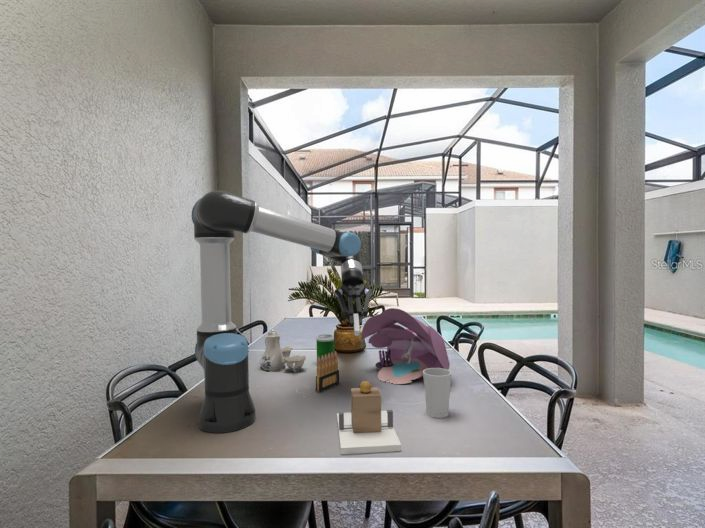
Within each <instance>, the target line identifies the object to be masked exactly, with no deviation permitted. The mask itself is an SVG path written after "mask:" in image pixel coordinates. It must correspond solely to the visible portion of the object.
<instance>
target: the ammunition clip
mask: <svg viewBox="0 0 705 528" xmlns="http://www.w3.org/2000/svg"><path fill="white" fill-rule="evenodd" d="M338 384H339V385H340V370H339V362H338V353H337V350H334V354H333V352H332V353H331V357H330V353H328V357H327V355H326V354H325V356H324V357H323V355H322V356H321V360H320V357H319V356H318V360H317V359H316V376H315V392H316V391H317V393H322V392H324V390H325V391H326V390H329V389H332V388H334V387H336V386H338ZM335 385H336V386H335ZM333 386H334V387H333ZM331 387H332V388H331Z"/></svg>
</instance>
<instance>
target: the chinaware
mask: <svg viewBox="0 0 705 528" xmlns="http://www.w3.org/2000/svg"><path fill="white" fill-rule="evenodd" d="M264 337H265V338H264V344H265V350H264V353H263V355H262V356H261V358H260V362H259V364H260V366H261V367H262V370H263V369H264V370H263V371H266V370H269V371H268V372H271V371H272V372H274V371H273V370H275V371H280V370H283V369H284V368H283V367H284V366H285V364H286V366H287V368H288V369H289V370H290V371H291V372H292V371H293V372H292V373H298V372H300V371H301V370H300V369H302V368H303V366H304V365H305V360H306V358H307V357H306V355H302V356H301V355H298V354H294V355H292V356H290V355H291V352H292V351H293V348H290V346H284V347H281V344H280V340H281V334H280V333H277V332H276V331H275V329H274V328H272V329H270V332H268V334H265V335H264ZM282 368H283V369H282ZM279 369H280V370H279ZM297 371H298V372H297Z"/></svg>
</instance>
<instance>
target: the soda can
mask: <svg viewBox="0 0 705 528" xmlns="http://www.w3.org/2000/svg"><path fill="white" fill-rule="evenodd" d="M332 352H333V354H334V353H335V338H334V336H333V335H332V334H325V333H324V334H319V335H318V336H317V337H316V361H317V360H318V356H319V357H320V360H321V356H322V355H323V357H324V356H325V354H326V355H327V357H328V353H330V357H331V353H332Z"/></svg>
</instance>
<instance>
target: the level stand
mask: <svg viewBox="0 0 705 528" xmlns="http://www.w3.org/2000/svg"><path fill="white" fill-rule="evenodd" d="M336 420H337V421H336V422H337V429H338V440H339V447H340V455H356V454H357V455H359V454H373V453H390V452H392V453H394V452H402V443H401V441H400V438H399V437H398V434H397V432H396V429H395V428H394V411H393V409H387V410H381V431H375V432H356V433H353V428H352V423H351V412H344V411H342V412H341V411H339V412H337V413H336Z"/></svg>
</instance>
